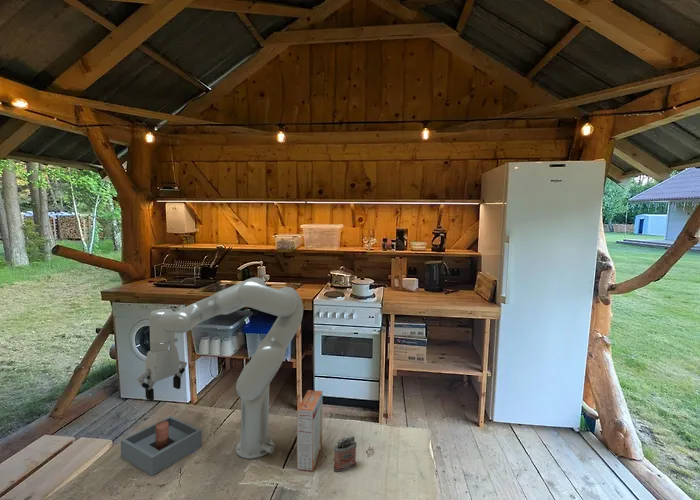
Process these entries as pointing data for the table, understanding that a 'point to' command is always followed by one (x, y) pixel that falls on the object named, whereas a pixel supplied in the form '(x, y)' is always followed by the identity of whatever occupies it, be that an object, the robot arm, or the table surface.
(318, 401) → the cracker box
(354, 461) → the lighter
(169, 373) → the robot arm
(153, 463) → the tray
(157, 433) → the peg
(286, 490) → the table surface
